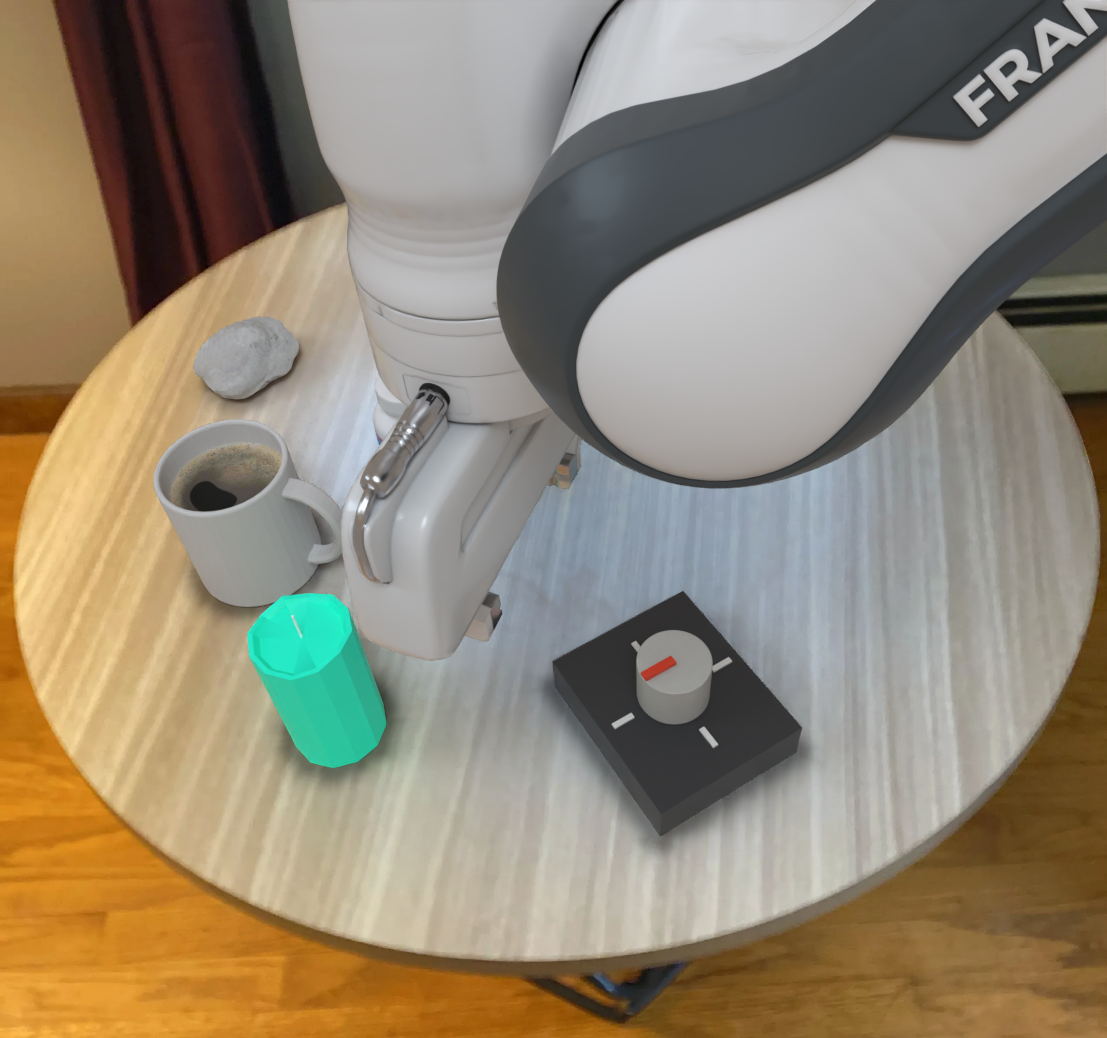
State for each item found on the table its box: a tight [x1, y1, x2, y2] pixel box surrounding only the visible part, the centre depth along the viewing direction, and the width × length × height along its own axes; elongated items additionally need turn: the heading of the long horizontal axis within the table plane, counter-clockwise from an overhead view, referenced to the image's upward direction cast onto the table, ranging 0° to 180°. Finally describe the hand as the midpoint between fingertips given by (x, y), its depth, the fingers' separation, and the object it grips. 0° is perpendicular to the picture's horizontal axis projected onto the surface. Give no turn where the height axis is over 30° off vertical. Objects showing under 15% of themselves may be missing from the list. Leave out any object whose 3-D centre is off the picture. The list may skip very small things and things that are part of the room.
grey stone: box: [193, 316, 300, 400], centre depth 87 cm, size 9×8×5 cm
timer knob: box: [636, 630, 713, 724], centre depth 61 cm, size 4×4×4 cm
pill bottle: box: [372, 372, 407, 446], centre depth 75 cm, size 6×6×11 cm
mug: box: [152, 418, 343, 608], centre depth 71 cm, size 11×10×10 cm
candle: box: [246, 592, 388, 769], centre depth 61 cm, size 6×6×12 cm
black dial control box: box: [551, 590, 803, 836], centre depth 63 cm, size 12×10×3 cm
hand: (521, 547), depth 48 cm, fingers open, 8 cm apart
